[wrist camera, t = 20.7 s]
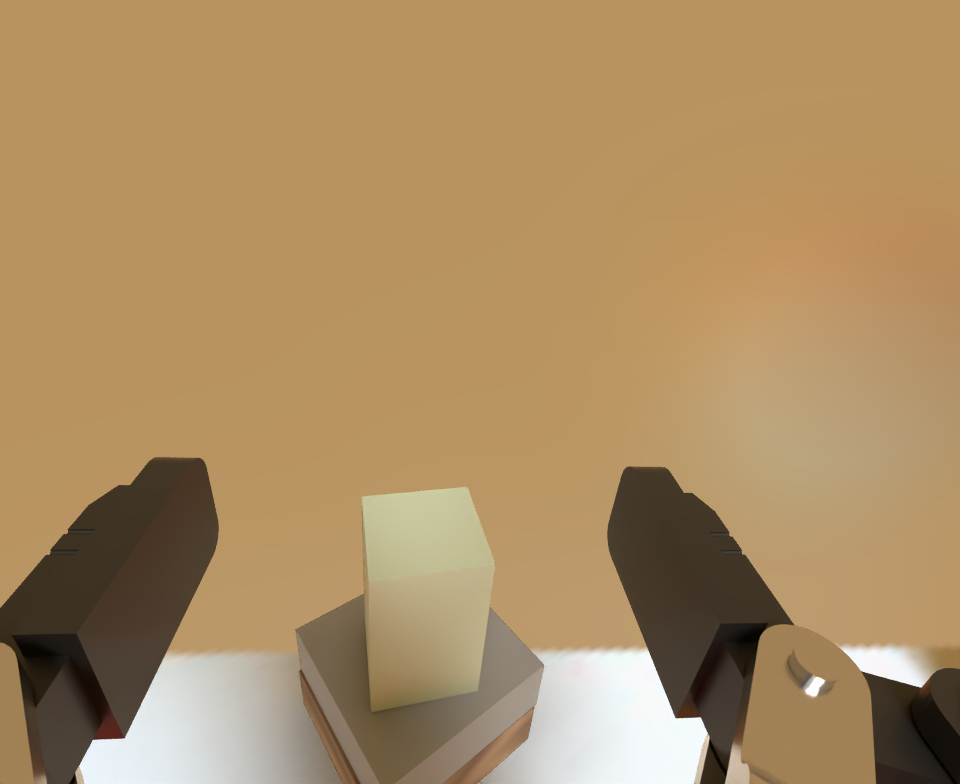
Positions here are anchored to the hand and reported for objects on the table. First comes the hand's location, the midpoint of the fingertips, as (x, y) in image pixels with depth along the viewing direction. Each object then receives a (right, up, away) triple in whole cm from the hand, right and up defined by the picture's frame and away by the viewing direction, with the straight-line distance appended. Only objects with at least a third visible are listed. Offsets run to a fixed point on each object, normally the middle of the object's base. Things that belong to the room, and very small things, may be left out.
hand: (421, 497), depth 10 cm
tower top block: (-3, -17, +23) cm, 29 cm away
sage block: (-3, -14, +21) cm, 25 cm away
